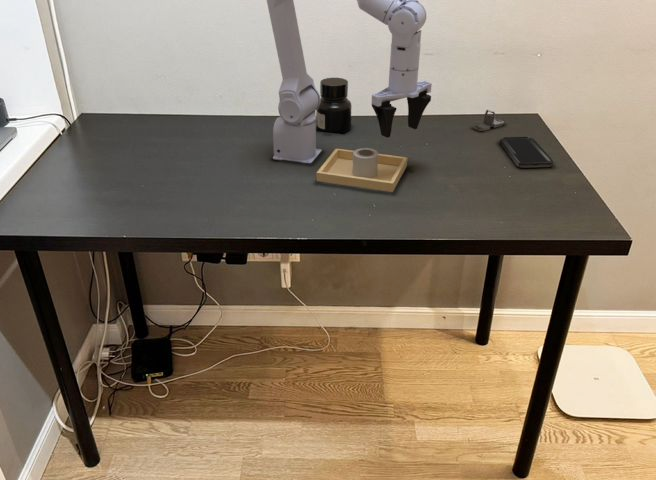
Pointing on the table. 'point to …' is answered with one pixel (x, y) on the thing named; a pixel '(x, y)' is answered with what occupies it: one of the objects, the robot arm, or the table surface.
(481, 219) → the table surface
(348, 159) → the tray
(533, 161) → the phone
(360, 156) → the tape roll
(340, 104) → the ink bottle
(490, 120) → the strap clip
